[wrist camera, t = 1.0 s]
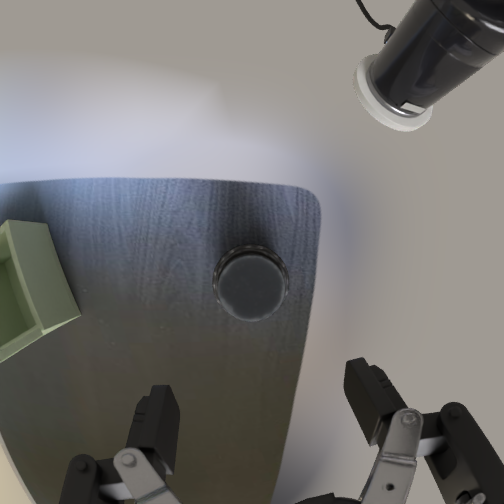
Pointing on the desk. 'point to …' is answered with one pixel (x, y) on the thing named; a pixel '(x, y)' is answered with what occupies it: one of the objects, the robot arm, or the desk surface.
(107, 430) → the desk surface
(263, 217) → the desk surface
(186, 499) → the desk surface
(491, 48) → the robot arm
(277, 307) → the pill bottle
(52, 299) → the pale green open box
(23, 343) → the green box lid
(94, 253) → the desk surface
